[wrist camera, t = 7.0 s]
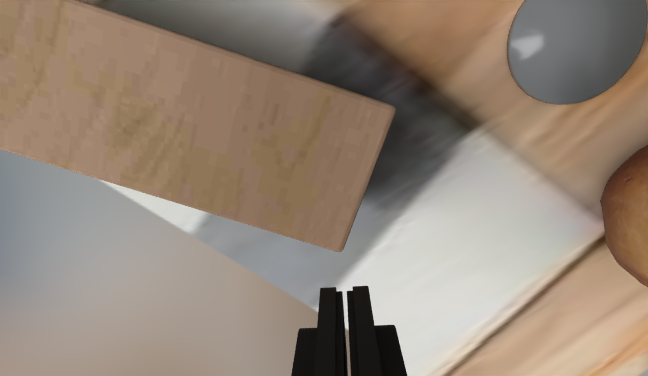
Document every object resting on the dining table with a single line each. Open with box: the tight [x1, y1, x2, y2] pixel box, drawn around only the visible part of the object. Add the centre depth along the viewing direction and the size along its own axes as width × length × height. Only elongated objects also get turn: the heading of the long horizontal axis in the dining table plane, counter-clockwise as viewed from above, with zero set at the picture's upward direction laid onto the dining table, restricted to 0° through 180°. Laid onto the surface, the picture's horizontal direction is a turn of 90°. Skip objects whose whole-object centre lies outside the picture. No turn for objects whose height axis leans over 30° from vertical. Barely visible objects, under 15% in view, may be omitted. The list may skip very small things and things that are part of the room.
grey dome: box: [507, 0, 647, 104], centre depth 25 cm, size 10×10×1 cm
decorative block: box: [0, 0, 396, 252], centre depth 23 cm, size 10×10×30 cm
